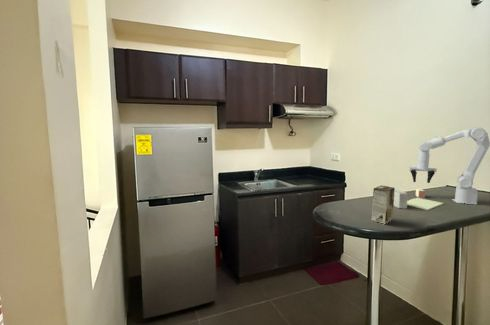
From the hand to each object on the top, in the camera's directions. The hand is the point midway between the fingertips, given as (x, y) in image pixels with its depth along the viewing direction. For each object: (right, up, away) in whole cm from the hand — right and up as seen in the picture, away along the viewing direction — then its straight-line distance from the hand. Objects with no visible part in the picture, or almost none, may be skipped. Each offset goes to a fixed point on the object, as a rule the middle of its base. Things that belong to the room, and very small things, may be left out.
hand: (421, 182), depth 163 cm
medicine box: (-26, -12, -19) cm, 35 cm away
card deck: (0, -9, +1) cm, 10 cm away
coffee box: (-47, -15, -41) cm, 65 cm away
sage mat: (-10, -12, -14) cm, 21 cm away
